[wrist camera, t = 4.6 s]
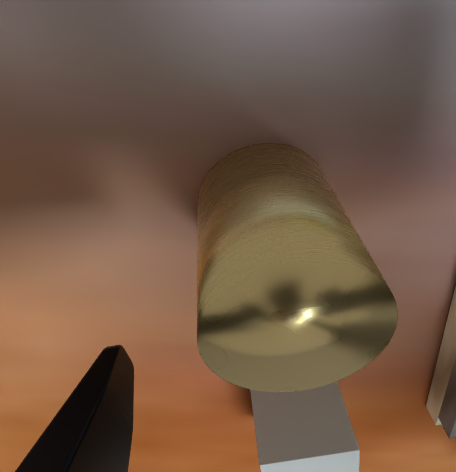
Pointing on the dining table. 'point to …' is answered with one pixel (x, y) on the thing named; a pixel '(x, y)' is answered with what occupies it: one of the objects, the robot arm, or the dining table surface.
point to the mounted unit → (445, 378)
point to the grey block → (304, 431)
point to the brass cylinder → (284, 276)
